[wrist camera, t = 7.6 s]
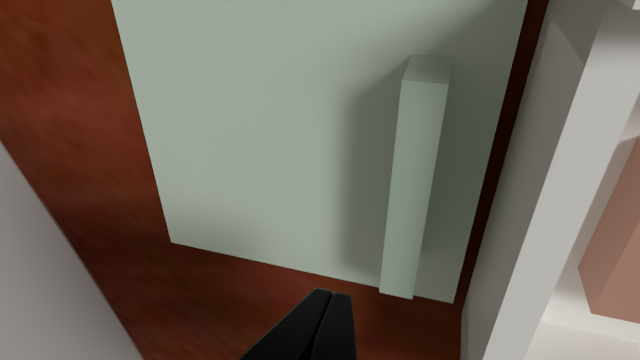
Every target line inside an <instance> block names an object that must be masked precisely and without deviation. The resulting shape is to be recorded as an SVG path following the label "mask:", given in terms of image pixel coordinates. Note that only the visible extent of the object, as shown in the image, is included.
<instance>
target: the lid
mask: <svg viewBox="0 0 640 360" xmlns="http://www.w3.org/2000/svg"><path fill="white" fill-rule="evenodd" d="M111 2H112V6H113V10H114V14H115V18H116V22H117V26H118V30H119V34H120V38H121V42H122V46H123V50H124V54H125V58H126V62H127V66H128V70H129V74H130V78H131V82H132V86H133V90H134V94H135V99H136V103H137V107H138V111H139V115H140V119H141V123H142V127H143V131H144V135H145V139H146V143H147V147H148V151H149V155H150V159H151V163H152V167H153V171H154V175H155V179H156V183H157V187H158V191H159V195H160V199H161V203H162V207H163V212H164V216H165V220H166V224H167V228H168V232H169V236H170V240H171V242H172V243H177V244H181V245H186V246H190V247H195V248H200V249H204V250H209V251H213V252H218V253H223V254H227V255H232V256H236V257H241V258H246V259H250V260H255V261H259V262H264V263H268V264H273V265H278V266H282V267H287V268H291V269H296V270H301V271H305V272H310V273H314V274H319V275H324V276H328V277H333V278H337V279H342V280H346V281H351V282H356V283H360V284H365V285H369V286H374V287H379V292H380V293H385V294H389V295H394V296H398V297H403V298H407V299H412V298H413V295H415V296H420V297H424V298H429V299H434V300H438V301H443V302H447V303H452V304H453V302H454V298H455V294H456V290H457V286H458V282H459V277H460V273H461V269H462V265H463V261H464V257H465V253H466V249H467V245H468V241H469V237H470V233H471V229H472V225H473V221H474V217H475V213H476V209H477V205H478V201H479V197H480V193H481V189H482V185H483V180H484V176H485V172H486V168H487V164H488V160H489V156H490V152H491V148H492V144H493V140H494V136H495V132H496V128H497V124H498V120H499V116H500V112H501V108H502V104H503V100H504V96H505V92H506V87H507V83H508V79H509V75H510V71H511V67H512V63H513V59H514V55H515V51H516V47H517V43H518V39H519V35H520V31H521V27H522V23H523V19H524V15H525V11H526V7H527V3H528V0H111Z"/></svg>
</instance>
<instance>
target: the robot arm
mask: <svg viewBox="0 0 640 360" xmlns="http://www.w3.org/2000/svg"><path fill="white" fill-rule="evenodd" d="M238 360H358V358H357V348H356V339H355V329H354V319H353V310H352V300H351V296H350V295H349V294H345V293H340V292H334V293H333V292H332V291H331V290H327V289H323V288H315V289H314V290H313V291H312V292H310V293H309V294H308V295H307V296H306V297H305V298H304V299H303V300H302V301H301V302H300V303H298V304H297V305H296V306H295V307H294V308H293V309H292V310H291V311H290V312H289V313H288V314H286V315H285V316H284V317H283V318H282V319H281V320H280V321H279V322H278V323H277V324H276V325H275V326H273V327H272V328H271V329H270V330H269V331H268V332H267V333H266V334H265V335H264V336H263V337H261V338H260V339H259V340H258V341H257V342H256V343H255V344H254V345H253V346H252V347H251V348H249V349H248V350H247V351H246V352H245V353H244V354H243V355H242V356H241V357H240V358H239V359H238Z"/></svg>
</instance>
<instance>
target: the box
mask: <svg viewBox="0 0 640 360" xmlns="http://www.w3.org/2000/svg"><path fill="white" fill-rule="evenodd" d="M460 360H640V0H549V2H548V6H547V9H546V13H545V16H544V20H543V24H542V27H541V31H540V34H539V38H538V41H537V45H536V49H535V52H534V56H533V59H532V63H531V67H530V70H529V74H528V77H527V81H526V84H525V88H524V92H523V95H522V99H521V102H520V106H519V109H518V113H517V117H516V120H515V124H514V127H513V131H512V135H511V138H510V142H509V145H508V149H507V152H506V156H505V160H504V163H503V167H502V170H501V174H500V178H499V181H498V185H497V188H496V192H495V195H494V199H493V203H492V206H491V210H490V213H489V217H488V221H487V224H486V228H485V231H484V235H483V238H482V242H481V246H480V249H479V253H478V256H477V260H476V263H475V267H474V271H473V274H472V278H471V281H470V285H469V289H468V292H467V296H466V299H465V303H464V306H463V310H462V318H461V358H460Z"/></svg>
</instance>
